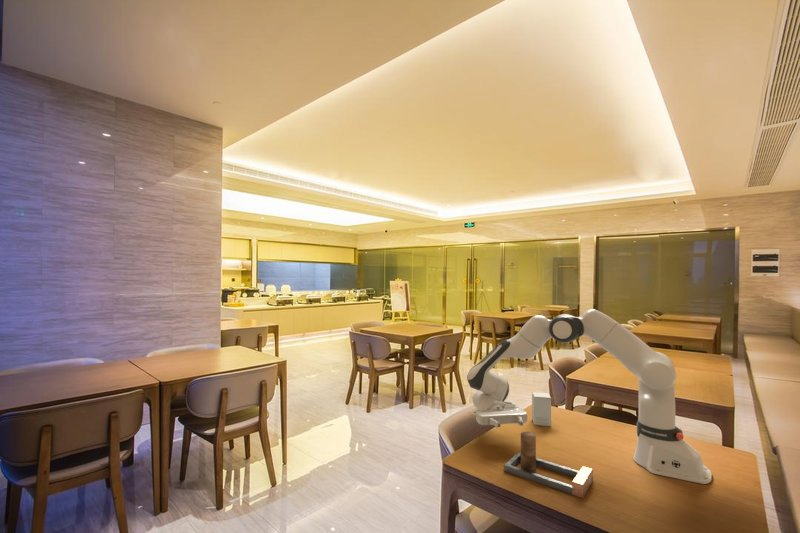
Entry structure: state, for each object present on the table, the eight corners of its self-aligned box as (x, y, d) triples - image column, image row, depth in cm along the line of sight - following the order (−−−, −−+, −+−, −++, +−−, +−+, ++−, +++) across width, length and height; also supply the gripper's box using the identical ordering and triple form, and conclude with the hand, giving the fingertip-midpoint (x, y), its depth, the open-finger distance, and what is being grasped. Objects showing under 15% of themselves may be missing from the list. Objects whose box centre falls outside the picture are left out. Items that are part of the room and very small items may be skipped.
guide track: (592, 481, 126) (592, 468, 126) (582, 498, 116) (582, 484, 116) (518, 457, 142) (518, 446, 142) (504, 471, 132) (504, 459, 132)
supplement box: (551, 426, 172) (551, 397, 172) (533, 425, 173) (534, 396, 173) (548, 420, 179) (548, 392, 179) (531, 419, 180) (531, 391, 181)
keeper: (537, 469, 134) (538, 434, 134) (532, 475, 130) (532, 439, 130) (523, 464, 137) (523, 430, 137) (518, 470, 133) (518, 435, 133)
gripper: (470, 404, 157) (484, 417, 144) (517, 402, 161) (534, 414, 148) (470, 420, 157) (484, 434, 144) (516, 417, 161) (534, 431, 147)
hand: (510, 424), depth 146 cm, fingers open, 8 cm apart
